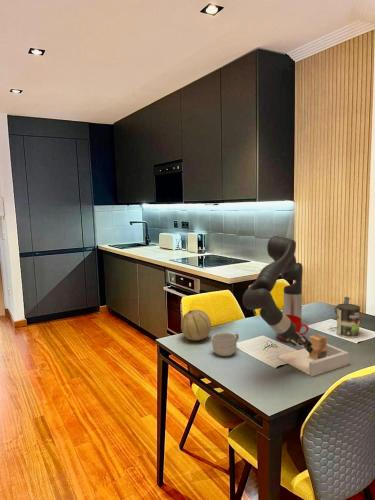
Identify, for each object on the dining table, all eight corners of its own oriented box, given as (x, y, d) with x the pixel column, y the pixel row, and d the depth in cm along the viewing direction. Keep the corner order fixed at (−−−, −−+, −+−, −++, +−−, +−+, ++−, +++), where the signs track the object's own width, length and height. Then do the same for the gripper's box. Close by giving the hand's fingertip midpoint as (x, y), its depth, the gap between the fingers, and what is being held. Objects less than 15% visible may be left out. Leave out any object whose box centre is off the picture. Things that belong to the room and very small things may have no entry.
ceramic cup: (301, 348, 161) (302, 326, 160) (268, 339, 173) (268, 319, 172) (314, 339, 171) (314, 319, 170) (281, 332, 182) (281, 312, 181)
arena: (276, 357, 153) (276, 346, 152) (311, 348, 162) (311, 337, 161) (312, 376, 135) (312, 363, 135) (348, 364, 144) (348, 352, 144)
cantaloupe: (217, 340, 174) (217, 309, 172) (193, 347, 166) (192, 316, 164) (199, 331, 186) (198, 303, 184) (175, 338, 178) (174, 308, 176)
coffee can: (364, 336, 174) (365, 307, 172) (348, 339, 170) (349, 310, 168) (347, 329, 183) (347, 302, 182) (331, 332, 179) (332, 305, 177)
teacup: (220, 360, 151) (220, 342, 150) (207, 351, 161) (206, 334, 160) (247, 353, 158) (247, 336, 157) (233, 345, 167) (233, 328, 166)
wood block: (317, 361, 146) (317, 339, 145) (309, 357, 151) (309, 336, 149) (326, 358, 149) (327, 337, 148) (318, 354, 153) (318, 334, 152)
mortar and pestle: (350, 324, 191) (351, 301, 190) (332, 320, 197) (332, 299, 195) (356, 318, 200) (356, 297, 198) (338, 315, 206) (338, 294, 204)
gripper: (300, 321, 133) (322, 345, 139) (274, 312, 145) (295, 334, 152) (289, 338, 131) (312, 361, 138) (263, 327, 144) (285, 349, 150)
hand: (303, 347), depth 145 cm, fingers open, 8 cm apart
